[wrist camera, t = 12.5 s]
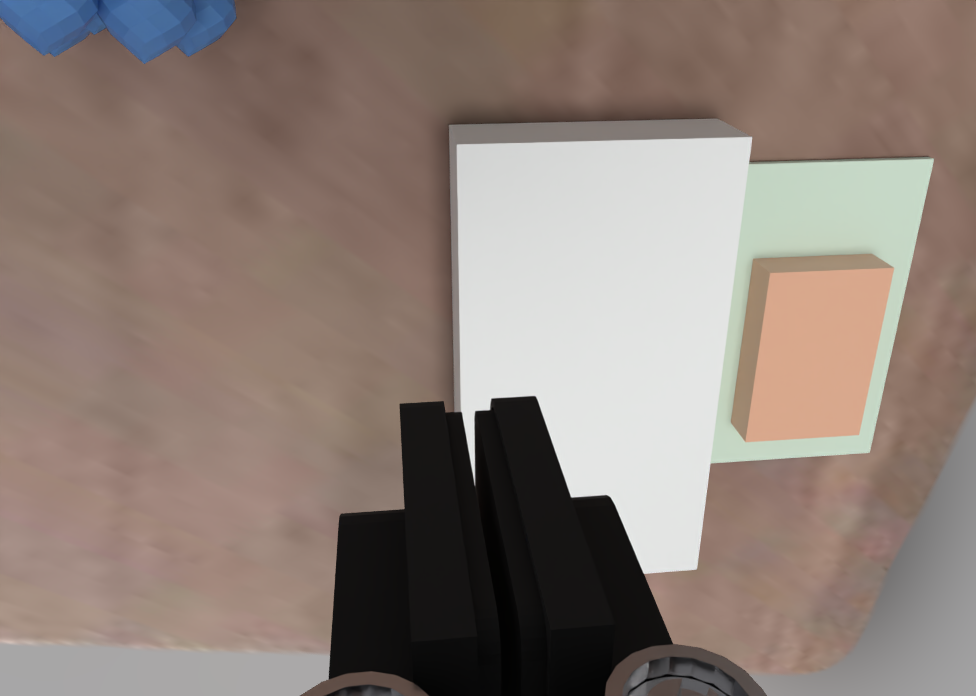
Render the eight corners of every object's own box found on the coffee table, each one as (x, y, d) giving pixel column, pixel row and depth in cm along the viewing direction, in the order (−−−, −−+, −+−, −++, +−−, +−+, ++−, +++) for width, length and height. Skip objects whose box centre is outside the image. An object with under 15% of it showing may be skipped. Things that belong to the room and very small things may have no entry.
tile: (894, 267, 40) (872, 253, 42) (770, 273, 40) (753, 258, 41) (859, 435, 44) (840, 415, 46) (745, 442, 44) (730, 422, 45)
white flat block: (449, 124, 38) (456, 144, 34) (717, 118, 39) (752, 137, 35) (456, 538, 47) (463, 587, 43) (672, 522, 48) (696, 569, 45)
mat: (723, 162, 40) (726, 164, 39) (929, 156, 41) (933, 158, 40) (688, 460, 47) (691, 464, 46) (865, 448, 48) (869, 452, 47)
